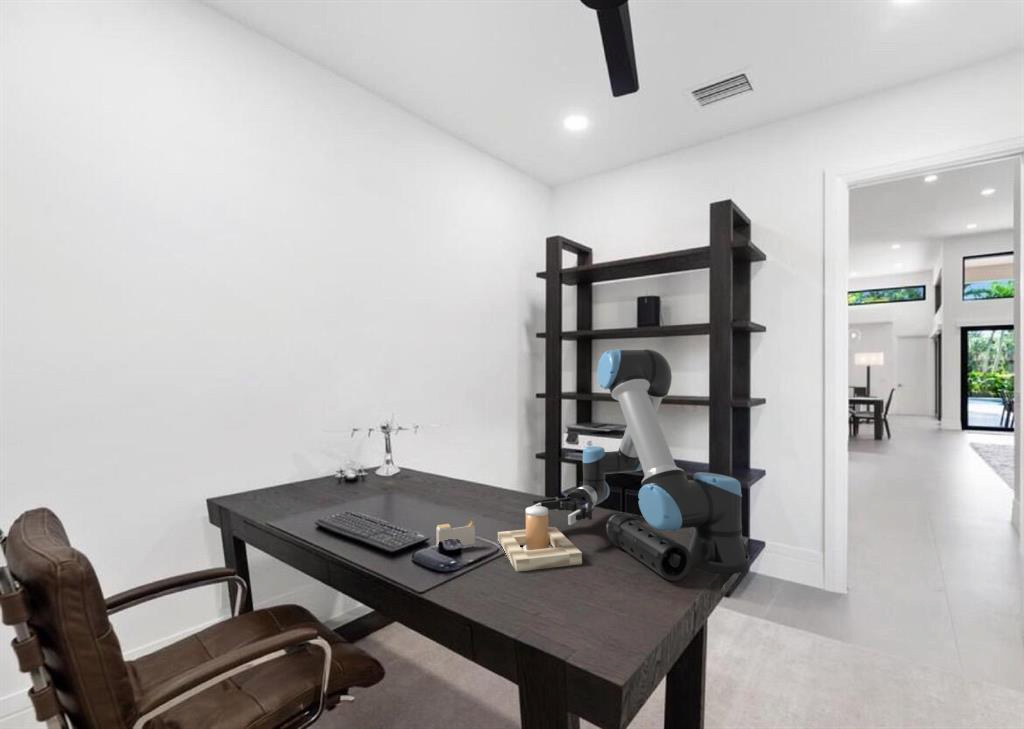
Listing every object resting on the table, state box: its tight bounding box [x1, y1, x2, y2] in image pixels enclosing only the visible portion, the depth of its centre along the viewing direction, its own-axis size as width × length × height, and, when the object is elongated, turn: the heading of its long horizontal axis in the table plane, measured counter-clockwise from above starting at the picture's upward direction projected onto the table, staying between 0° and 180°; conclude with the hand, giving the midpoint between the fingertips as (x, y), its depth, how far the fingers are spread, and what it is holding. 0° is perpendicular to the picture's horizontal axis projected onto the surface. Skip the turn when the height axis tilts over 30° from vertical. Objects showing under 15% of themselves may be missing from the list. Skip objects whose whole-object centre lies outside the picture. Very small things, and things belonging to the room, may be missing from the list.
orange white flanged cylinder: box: [522, 505, 553, 551], centre depth 140 cm, size 8×8×12 cm
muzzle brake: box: [606, 512, 692, 582], centre depth 133 cm, size 10×28×10 cm
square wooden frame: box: [497, 526, 583, 573], centre depth 140 cm, size 22×18×3 cm
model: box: [435, 519, 476, 547], centre depth 145 cm, size 3×11×8 cm, turn 112°
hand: (548, 516), depth 146 cm, fingers open, 13 cm apart
